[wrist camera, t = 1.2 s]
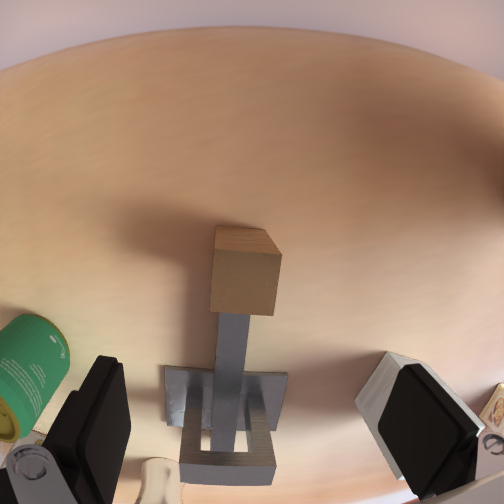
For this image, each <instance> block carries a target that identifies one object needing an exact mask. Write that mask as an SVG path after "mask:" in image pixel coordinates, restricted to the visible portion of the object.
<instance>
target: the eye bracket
mask: <svg viewBox="0 0 504 504" xmlns="http://www.w3.org/2000/svg"><path fill="white" fill-rule="evenodd" d="M214 372H215V370H210V369H197V368H185V367H175V366H166V365H165V394H166V414H167V426H175V427H183V429H182V438H181V448H180V457H179V471H180V483H190V484H204V485H227V486H264V485H271V484H272V480H273V477H274V474H275V470H276V467H277V465H276V460H275V455H274V450H273V445H272V440H271V435H270V431H276V429H277V424H278V420H279V416H280V411H281V407H282V402H283V398H284V393H285V388H286V384H287V379H288V374H287V373H275V372H244V371H243V379H242V387H241V395H240V403H239V411H238V419H237V427H236V431H246V437H247V445H248V452H219V451H202V450H201V429H211V420H212V403H213V387H214Z"/></svg>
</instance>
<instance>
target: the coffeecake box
mask: <svg viewBox="0 0 504 504" xmlns="http://www.w3.org/2000/svg"><path fill="white" fill-rule="evenodd" d="M479 418H481V419H482V420H483V421H484V423H485V424H486V425H487V426H488V427H489V428H490V429H491V430H492V431H494V432H498V433H501V434H502V435H504V383H499V384H498V386H497V388H496V389H495V391H494V393H493V395H492V396H491V398H490V400H489V401H488V403H487V404H486V406H485V407H484V409H483V410H482V412H481V414H480V415H479Z"/></svg>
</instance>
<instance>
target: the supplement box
mask: <svg viewBox="0 0 504 504" xmlns="http://www.w3.org/2000/svg"><path fill="white" fill-rule="evenodd" d="M415 363H420V364H421V365H422V366H423V367H424V368H425V369H426V370H427V371H428V372H429V373H430V374H431V375H432V376H433V378H434V379H435V380H436V381H437V382H438V383H439V384H440V385H441V386H442V387H443V388H444V389H445V391H446V392H447V393H448V394H449V395H450V396H451V397H452V398H453V399H454V400H455V401H456V403H457V404H458V405H459V406H460V407H461V408H462V409H463V410H464V411H465V413H466V414H467V415H468V416H469V417H470V418H471V419H472V420H473V422H474V423H475V424H476V425H477V426H478V427H479V428H480V430H479V431H478V433H477V435H476V436H478V435H479V434H480V432H481V431H482V430H483V429H484V427H485V425H484V424H483V423H482V422H481V421H480V419H479V418H478V417H477V416H476V415H475V414H474V413H473V412H472V410H471V409H470V408H469V407H468V406H467V405H466V404H465V403H464V402H463V401H462V400H461V399H460V398H459V397H458V396H457V394H456V393H455V392H454V391H453V390H452V389H451V388H450V387H449V386H448V385H447V384H446V383H445V382H444V381H443V380H442V379H441V378H440V377H439V376H438V374H437V373H436V372H435V371H434V370H433V369H432V368H431V367H430V366H429V365H428V364H427V363H424V362H421V361H418V360H414V359H411V358H407V357H404V356H401V355H397V354H394V353H391V352H386V354H385V355H384V357H383V358H382V360H381V361H380V363H379V364H378V366H377V368H376V369H375V370H374V372H373V373H372V375H371V376H370V378H369V379H368V381H367V382H366V384H365V385H364V387H363V388H362V390H361V391H360V392H359V394H358V395H357V397H356V398H355V400H354V402H355V404H356V406H357V408H358V410H359V412H360V413H361V415H362V417H363V419H364V421H365V422H366V424H367V426H368V428H369V430H370V431H371V433H372V435H373V437H374V439H375V440H376V442H377V444H378V446H379V448H380V450H381V451H382V453H383V455H384V457H385V459H386V460H387V462H388V464H389V466H390V468H391V470H392V472H393V473H394V475H395V477H396V479H397V480H405V478H404V476H403V474H402V473H401V471H400V469H399V467H398V465H397V464H396V462H395V460H394V458H393V457H392V455H391V453H390V451H389V450H388V448H387V446H386V444H385V442H384V441H383V439H382V437H381V435H380V434H379V432H378V422H379V420H380V417H381V415H382V413H383V410H384V408H385V405H386V403H387V401H388V398H389V396H390V393H391V390H392V388H393V385H394V383H395V380H396V377H397V375H398V372H399V370H400V369H402V368H403V366H404V365H406V364H415Z"/></svg>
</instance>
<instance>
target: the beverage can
mask: <svg viewBox="0 0 504 504" xmlns="http://www.w3.org/2000/svg"><path fill="white" fill-rule="evenodd" d="M69 356H70V354H69V348H68V345H67V342H66V340H65V338H64V336H63V335H62V333H61V332H60V330H59V329H58V328H57V327H56V326H55V325H54V324H53V323H51V322H50V321H49V320H47V319H46V318H44V317H41V316H38V315H21V316H18V317H16V318H15V319H14V320H13V321H11V322H10V323H9V324H8V325H7V326H6V327H4V328H3V329H2V330H1V331H0V441H3V442H7V443H13V442H15V441H17V440H18V439H21V438H24V437H26V436H28V435H29V434H30V432H31V430H32V428H33V427H34V425H35V423H36V422H37V420H38V418H39V417H40V415H41V413H42V412H43V410H44V408H45V407H46V405H47V404H48V402H49V400H50V399H51V397H52V396H53V394H54V392H55V391H56V389H57V388H58V386H59V385H60V383H61V381H62V380H63V378H64V377H65V375H66V374H67V372H68V370H69V365H70V359H69Z"/></svg>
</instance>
